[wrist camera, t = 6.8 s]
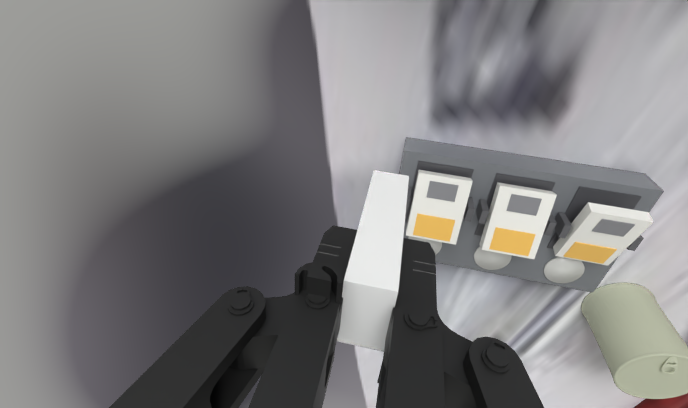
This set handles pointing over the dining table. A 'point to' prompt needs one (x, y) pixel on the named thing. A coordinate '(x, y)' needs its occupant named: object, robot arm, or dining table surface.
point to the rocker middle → (517, 220)
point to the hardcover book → (665, 402)
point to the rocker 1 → (438, 206)
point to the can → (637, 341)
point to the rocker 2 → (602, 233)
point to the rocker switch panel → (546, 174)
